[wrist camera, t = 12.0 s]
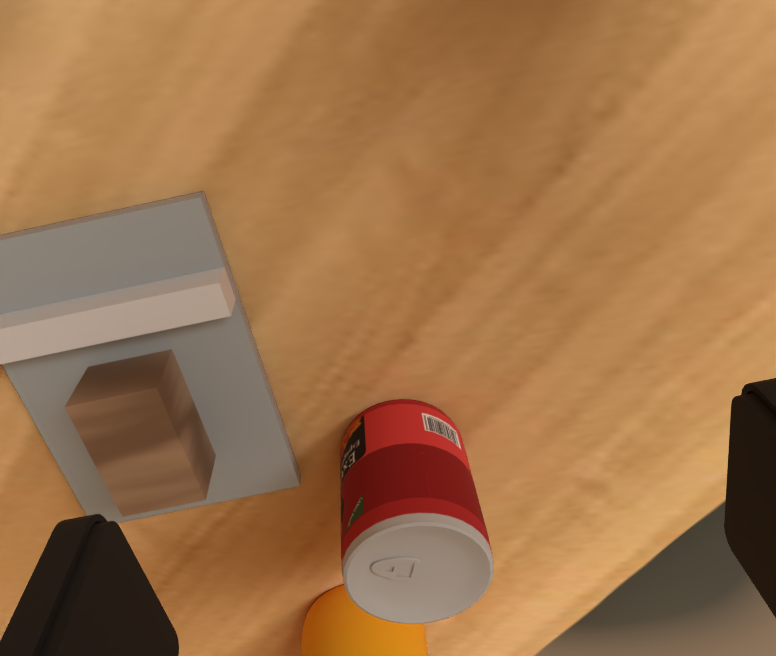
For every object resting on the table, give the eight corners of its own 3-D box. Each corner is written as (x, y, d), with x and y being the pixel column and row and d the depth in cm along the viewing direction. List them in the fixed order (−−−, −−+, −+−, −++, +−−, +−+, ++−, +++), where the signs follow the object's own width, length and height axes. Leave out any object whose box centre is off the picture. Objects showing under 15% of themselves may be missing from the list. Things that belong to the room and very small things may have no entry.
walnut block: (64, 407, 37) (123, 518, 40) (156, 388, 36) (206, 502, 40) (88, 366, 40) (140, 473, 44) (172, 349, 40) (216, 457, 44)
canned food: (333, 401, 44) (333, 531, 34) (459, 388, 44) (495, 513, 34) (346, 493, 47) (350, 634, 38) (463, 481, 48) (496, 617, 38)
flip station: (-52, 246, 37) (-81, 269, 34) (203, 191, 37) (193, 210, 34) (97, 516, 47) (83, 550, 44) (300, 475, 46) (298, 507, 44)
